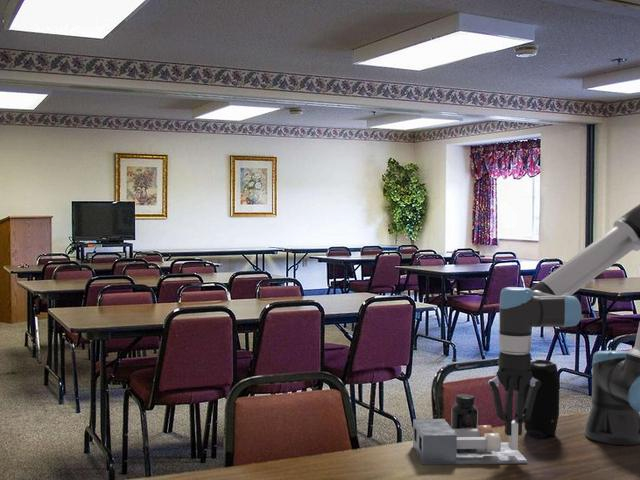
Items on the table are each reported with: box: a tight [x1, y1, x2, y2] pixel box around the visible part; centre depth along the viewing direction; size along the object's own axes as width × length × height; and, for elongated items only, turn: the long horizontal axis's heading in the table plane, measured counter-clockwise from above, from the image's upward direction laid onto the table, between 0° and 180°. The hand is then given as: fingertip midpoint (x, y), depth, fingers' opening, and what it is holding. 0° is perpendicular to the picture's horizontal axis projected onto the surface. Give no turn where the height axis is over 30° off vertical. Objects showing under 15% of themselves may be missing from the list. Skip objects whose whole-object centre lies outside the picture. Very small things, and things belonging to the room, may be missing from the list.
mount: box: [412, 418, 528, 466], centre depth 188 cm, size 25×14×7 cm, turn 93°
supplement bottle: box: [450, 393, 479, 429], centre depth 198 cm, size 7×7×12 cm
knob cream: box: [457, 432, 502, 452], centre depth 184 cm, size 13×4×4 cm, turn 93°
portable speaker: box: [523, 359, 560, 439], centre depth 205 cm, size 9×9×20 cm
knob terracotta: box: [452, 424, 494, 437], centre depth 191 cm, size 13×4×4 cm, turn 93°
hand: (513, 448), depth 185 cm, fingers closed
